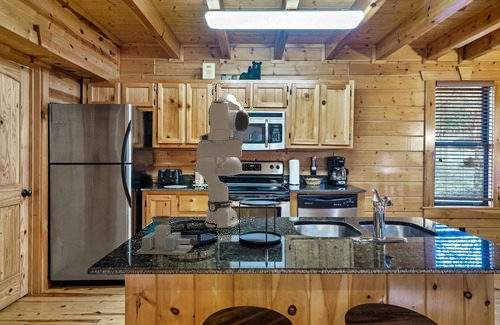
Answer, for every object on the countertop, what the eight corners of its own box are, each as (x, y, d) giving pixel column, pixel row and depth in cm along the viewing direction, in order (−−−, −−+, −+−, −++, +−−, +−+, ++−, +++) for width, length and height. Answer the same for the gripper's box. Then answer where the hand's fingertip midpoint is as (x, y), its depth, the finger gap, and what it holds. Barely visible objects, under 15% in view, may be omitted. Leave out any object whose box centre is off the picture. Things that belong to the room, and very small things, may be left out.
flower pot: (150, 233, 164) (149, 216, 164) (168, 231, 168) (168, 214, 168) (152, 237, 156) (152, 219, 156) (172, 235, 160) (172, 218, 159)
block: (170, 245, 138) (170, 224, 138) (166, 249, 133) (166, 227, 133) (159, 245, 139) (159, 224, 139) (154, 248, 134) (154, 227, 134)
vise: (193, 246, 141) (193, 232, 141) (184, 255, 129) (184, 240, 129) (149, 245, 143) (148, 231, 143) (136, 253, 131) (136, 238, 131)
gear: (139, 235, 152) (151, 218, 158) (144, 242, 156) (155, 225, 162) (159, 241, 148) (169, 223, 154) (163, 247, 152) (174, 230, 158)
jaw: (200, 244, 139) (200, 232, 139) (193, 251, 130) (193, 239, 129) (172, 243, 141) (172, 232, 141) (164, 250, 131) (164, 238, 131)
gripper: (243, 137, 146) (243, 167, 146) (199, 137, 148) (199, 167, 149) (241, 136, 140) (241, 168, 140) (195, 136, 142) (195, 168, 142)
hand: (219, 167), depth 144 cm, fingers closed
